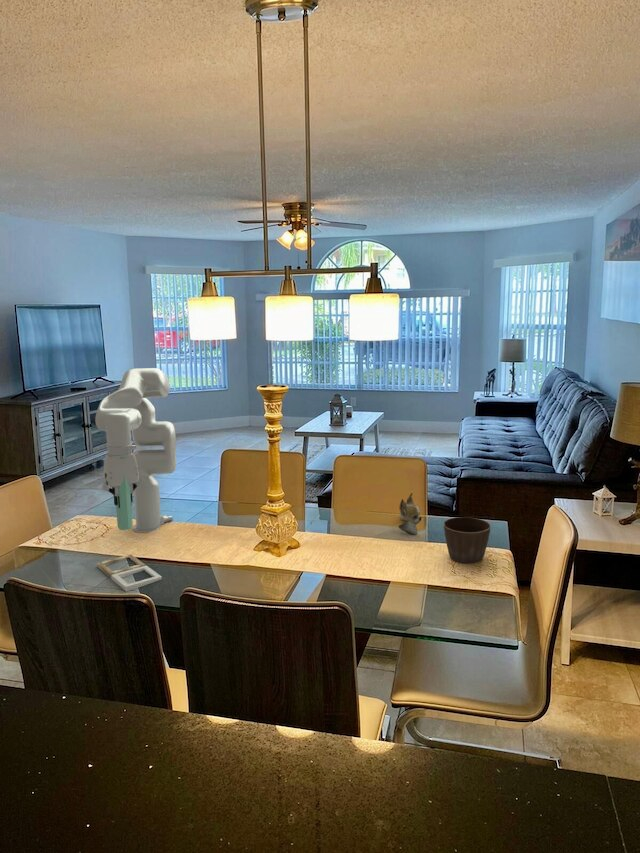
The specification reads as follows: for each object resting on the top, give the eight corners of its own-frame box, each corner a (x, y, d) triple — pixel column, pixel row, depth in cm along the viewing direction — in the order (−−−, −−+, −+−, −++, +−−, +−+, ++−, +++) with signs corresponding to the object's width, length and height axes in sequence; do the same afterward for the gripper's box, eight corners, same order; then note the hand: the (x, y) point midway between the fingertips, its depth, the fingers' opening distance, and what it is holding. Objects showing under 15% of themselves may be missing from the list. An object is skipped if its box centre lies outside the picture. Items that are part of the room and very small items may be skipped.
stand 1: (131, 558, 223) (131, 554, 223) (145, 568, 214) (145, 564, 214) (97, 567, 216) (97, 563, 215) (110, 578, 206) (110, 573, 206)
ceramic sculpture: (416, 540, 237) (416, 501, 234) (394, 536, 241) (394, 498, 238) (426, 531, 246) (426, 494, 243) (405, 528, 250) (405, 491, 247)
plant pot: (482, 583, 198) (483, 535, 195) (436, 574, 205) (437, 527, 203) (494, 567, 211) (495, 521, 208) (450, 559, 218) (451, 514, 215)
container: (131, 532, 204) (126, 456, 199) (113, 532, 204) (107, 456, 200) (137, 526, 209) (132, 452, 205) (119, 526, 210) (114, 452, 205)
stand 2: (146, 569, 213) (146, 565, 213) (162, 581, 204) (161, 576, 204) (111, 579, 206) (111, 574, 205) (125, 591, 196) (125, 586, 196)
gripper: (139, 445, 210) (143, 499, 213) (90, 452, 200) (94, 508, 203) (148, 448, 204) (152, 503, 207) (98, 455, 194) (102, 513, 197)
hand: (123, 505), depth 205 cm, fingers closed on container, 2 cm apart
